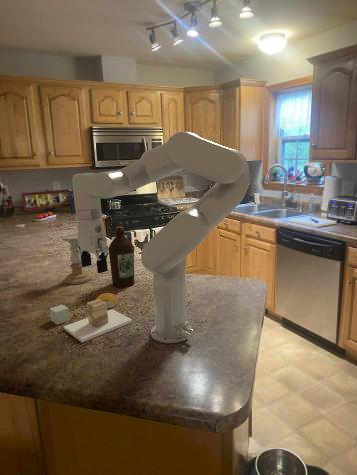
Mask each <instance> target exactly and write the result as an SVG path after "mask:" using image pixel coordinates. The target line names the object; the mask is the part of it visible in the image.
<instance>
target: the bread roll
mask: <svg viewBox="0 0 357 475" xmlns="http://www.w3.org/2000/svg"><path fill="white" fill-rule="evenodd" d="M98 299H100V300H102V301H104V302H106V303H107V310H109V309H112V308H114V307H116V306H117V305H118V297H117V295H115V294H114V293H111V292H104V293H102V294H100V295H98V296H96V298H95V300H98Z"/></svg>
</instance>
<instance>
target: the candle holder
mask: <svg viewBox="0 0 357 475" xmlns="http://www.w3.org/2000/svg"><path fill="white" fill-rule="evenodd" d="M77 239H78V233H75V234H67V235H64V236H62V237H61V241H63V242H68V243H69V245H70V248H69V251H70V258H69V262H70V265H69V267H70V269H71V272H69V273H68V274H67V275H66V276H65V277H64V279H63V282H64V283H65V284H67V285H80V284H81V285H82V284H86V283H88V282H90V281H91V280H92V279H93V275H92V274H91V273H88V272H87V271H84V269H83V267H82V263H81V255H80V250H79V248H78V247H79V245H78V242H77Z"/></svg>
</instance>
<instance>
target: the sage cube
mask: <svg viewBox="0 0 357 475" xmlns="http://www.w3.org/2000/svg"><path fill="white" fill-rule="evenodd" d="M49 314H50V315H49V316H50V321H51V322H52V323H54V324H55V325H56V326H57V325H61V324H63V323H66V322H69V321H71V320H70V311H69V307H67V306H66V305H64V304H59V305H56V306H54V307H50V308H49Z"/></svg>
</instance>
